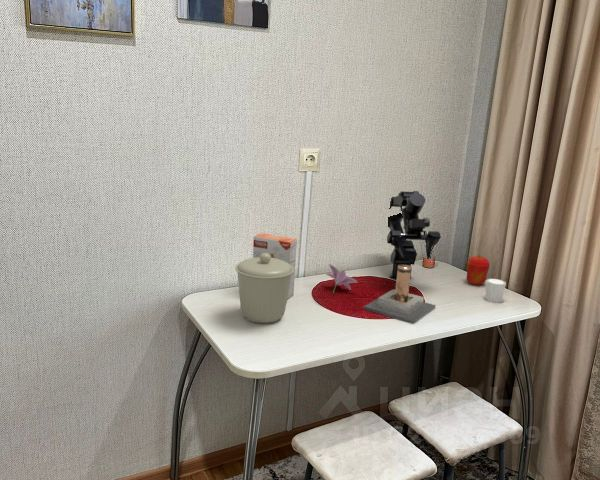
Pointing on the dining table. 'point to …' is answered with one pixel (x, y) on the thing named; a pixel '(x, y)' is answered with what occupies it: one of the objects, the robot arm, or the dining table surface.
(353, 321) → the dining table surface
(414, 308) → the frame
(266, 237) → the cracker box
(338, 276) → the lily
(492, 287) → the shot glass
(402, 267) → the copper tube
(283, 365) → the dining table surface
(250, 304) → the canister
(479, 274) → the apple
